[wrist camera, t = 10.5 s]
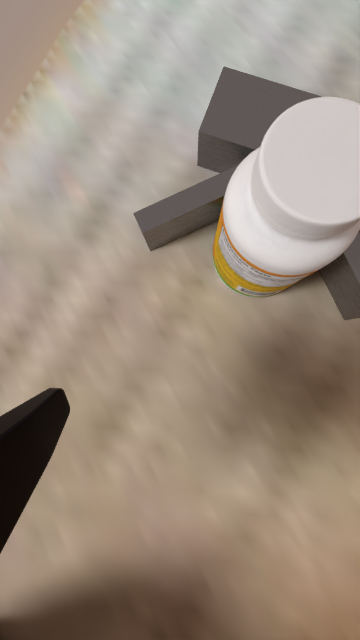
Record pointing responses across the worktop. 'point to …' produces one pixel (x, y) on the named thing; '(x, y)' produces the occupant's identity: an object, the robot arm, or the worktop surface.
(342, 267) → the v block
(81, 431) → the worktop surface
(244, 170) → the supplement bottle
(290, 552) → the worktop surface
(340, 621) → the worktop surface
